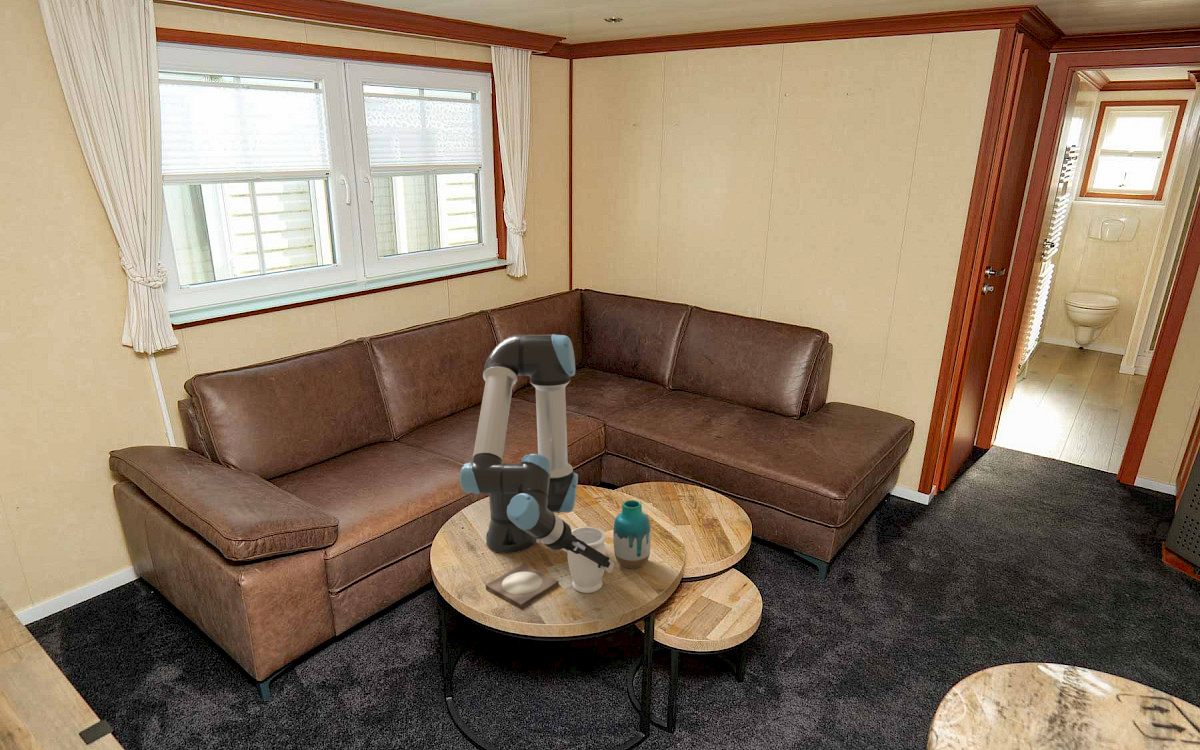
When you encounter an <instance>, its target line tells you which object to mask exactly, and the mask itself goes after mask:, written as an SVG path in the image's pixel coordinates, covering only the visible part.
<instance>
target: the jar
mask: <svg viewBox="0 0 1200 750" xmlns="http://www.w3.org/2000/svg"><path fill="white" fill-rule="evenodd" d="M571 531H572V535H574V536H575V537H576V538H577V539H579V540H581V541H583V542H584V543H586V544H587V545H589V546H590V547H592V548H594V549H595V550H597V551H598V552H600V553H602V554H603V555H605V556H607V555H606V553H607V550H606V544H605V541H606V534H605V532H604V530H602V529H600V528H598V527H594V526H579V527H576V528H573V529H571ZM577 543H579V542H577ZM576 549H577V547H575V549H573V550H575V551H576ZM566 553H567V563H568V567H569V568H568V570H569V573H570V575H571V579H572V582H571V586H572V587H573V589H574V590H575V591H577V592H579V593H584V594H590V593H595V592H598V591H599V590H600V589H601V588H602V586H603V580H602V579H603V576H604V573H605V570H604V569H603V568H601V567H600V568H598V565H597V563H595V562H594V561H592V560H590V559H588V558H586V557H585V556H583V555H581V554H575V553H573V552H572V551H570V550H568V552H566Z"/></svg>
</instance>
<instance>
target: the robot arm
mask: <svg viewBox="0 0 1200 750" xmlns="http://www.w3.org/2000/svg"><path fill="white" fill-rule="evenodd" d="M574 350H575V349H574V346H573V343H572V340H571V339H570V337H569V336H567V335H564V334H555V333H552V334H547V333H545V334H514V335H509V336H508V337H506V338H505V339H503V340H502V341H500V342H499V343H498V344H497V345H496V346H495V347H494V348H493V349H492V351H491V352H490V354H489V355H488V357H487V359H486V361H485V364H484V367H483V371H482V378H483V380H484V382H485V383H484V388H483V394H482V400H481V407H480V413H479V418H478V425H477V431H476V437H475V442H474V446H473V447H474V449H473V452H472V453H473V455H472V461H471V462H466V463H464V464H462V467H461V468H460V469H461V470H460V474H459V481H460V482H459V483H460V488H461V489H462V491H463V492H464V493H468V494H478V495H481V494H488V495H489V497H488V498H489V499H488V500H489V511H490V512H489V513H490V521H489V525H488V531H487V532H486V535H485V538H486V539H485V540H486V542H485V543H486V546H487V547H488V548H489V549H490V550H491V551H493V552H496V553H501V554H515V553H519V552H520V553H521V552H523V551H525V550H528V549H529V548H532V547H533V546H534V544H535V543H537V544H540V543H543V545H545V546H546V547H548V548H549V549H551V550H553V551H560V550H563V551H564V552H565V553H567V552H568V550H570V551H572V552H573V553H575V554H581V555H583V556H585V557H586V558H588V559H590V560H592V561H594V562H595V563H597V565H598V568H600V567H601V568H603V569H604V572H607V573H609V574H611V572H612V570H613V568H614V567H615V563H614V562H613V561H611V560H610V557H609V556H607V555H606V556H605V555H603V554H602V553H600V552H598V551H597V550H595V549H594V548H592V547H590V546H589V545H587V544H586V543H584V542H583V541H581V540H579V539H577V538H576V537H575V536H574V535H572V531H571V530H572V528H571V526H570V524H568V522H566V521H564V520H563V519H562V518H561V517H559V516H558V515H557V514H560V513H569V512H572V511H573V510H574V507H575V505H576V498H577V497H576V496H577V492H578V491H577V490H578V483H579V482H578V481H579V474H578V473H576V472H574V470H573V469H574V468H573V466H572V465H571V464H570V463H569V462H568V437H567V435H568V433H567V405H566V404H567V403H566V402H567V401H566V400H567V399H566V398H567V397H566V386H568V384H569V383H570V382H571V377H573V376H575V375H576V358H575V351H574ZM519 376H523V377H524V376H525V377H527V376H528V377H529V383H530V384H531V385H532V386H533V387H534V388H535V406H536V407H535V408H536V430H537V431H536V433H537V452H538V453H529V454H526V455H524V456H522V458H521V461H520V463H503V459H504V450H505V443H506V437H507V430H508V429H507V428H508V422H509V414H510V409H511V402H512V401H511V400H512V392H513V386H514V385H516V383H517V382H518V377H519ZM556 513H557V514H556ZM577 542H579V543H577ZM575 547H577V549H576V551H575V550H573V549H575Z"/></svg>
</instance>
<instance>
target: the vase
mask: <svg viewBox="0 0 1200 750" xmlns="http://www.w3.org/2000/svg"><path fill="white" fill-rule="evenodd" d="M651 530H652V529H651V522H650V518H649V517H648V515H647V514H646V513H644V512H643V507H642V502H641V501H639V500H637V499H627V500H625V501H623V503H622V506H621V512H620V513H618V514H617V515H616V517H615V518H614V524H613V531H612V532H613V538H612V539H613V551H614V552H613V553H614V557H615V560H616V562H617V563H618V564H619V565H620V566H621V567H624V568H627V569H639V568H641V567H643V566H644V565H646V563H647V562H648V560H649V557H650V554H651V547H652V546H651V545H652V544H651V543H652V541H651V540H652V539H651V538H652V537H651V536H652V532H651Z"/></svg>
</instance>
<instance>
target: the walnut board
mask: <svg viewBox="0 0 1200 750" xmlns="http://www.w3.org/2000/svg"><path fill="white" fill-rule="evenodd" d="M559 585H560V584H559V580H557V579H555V578H553V577H552V576H549V575H548V574H545V573H544V572H541V571H539V570H537V569H535V568H533V567H531V566H529V565H527V564H525V563H522V564H521V565H518V566H517V567H515V568H514V569H512V570H510V571H508V572H506V573H505V574H502V575H501V576H499V577H498V578H496V579H494V580H492V581H490V582H489V583H487V584H485V590H487V591H489V592H490V593H492V594H495V595H496V596H497V597H500V598H502V599H504V600H505V601H507V602H509V603H511V604H513V606H516V607H518V608H519V609H523V608H524V607H526V606H528V605H529V604H531V603H532V602H534V601H536V600H537V599H539V598H540V597H542V596H543V595H545V594H547V593H549V592H550V591H551V590H553V589H555V588H556V587H558V586H559Z"/></svg>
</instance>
